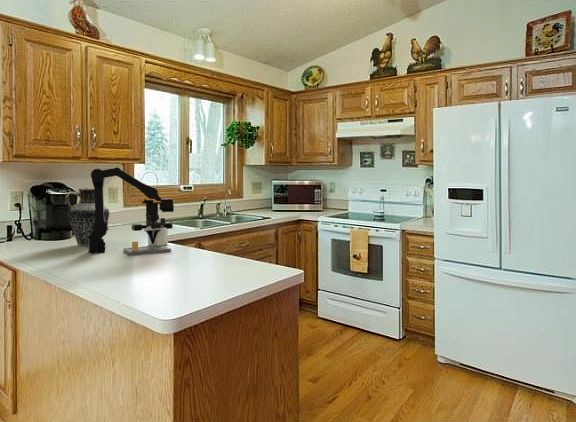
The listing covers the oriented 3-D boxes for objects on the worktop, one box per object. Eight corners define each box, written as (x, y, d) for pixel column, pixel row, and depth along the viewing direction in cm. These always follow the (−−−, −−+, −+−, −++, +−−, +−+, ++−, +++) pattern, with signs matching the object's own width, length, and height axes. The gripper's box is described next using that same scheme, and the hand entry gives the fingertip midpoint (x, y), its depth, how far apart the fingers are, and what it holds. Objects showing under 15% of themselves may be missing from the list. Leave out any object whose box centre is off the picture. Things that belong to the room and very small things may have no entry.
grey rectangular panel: (129, 255, 183) (129, 252, 183) (123, 251, 193) (123, 248, 193) (170, 251, 193) (170, 248, 193) (162, 247, 204) (162, 244, 204)
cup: (162, 247, 206) (161, 228, 206) (144, 246, 208) (144, 227, 208) (171, 244, 216) (171, 225, 215) (154, 243, 218) (154, 225, 217)
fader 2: (156, 245, 199) (156, 237, 199) (155, 245, 200) (155, 237, 200) (161, 245, 200) (161, 237, 200) (160, 244, 202) (160, 236, 202)
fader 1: (133, 250, 185) (132, 242, 185) (132, 250, 186) (131, 241, 186) (138, 250, 186) (138, 241, 186) (137, 249, 188) (137, 241, 187)
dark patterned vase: (98, 241, 224) (96, 187, 221) (117, 244, 212) (115, 188, 210) (59, 245, 207) (57, 188, 204) (78, 250, 196) (76, 189, 193)
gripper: (136, 214, 185) (137, 247, 187) (176, 212, 196) (176, 244, 197) (130, 212, 195) (131, 244, 196) (168, 211, 205) (169, 241, 206)
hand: (152, 243), depth 199 cm, fingers closed
